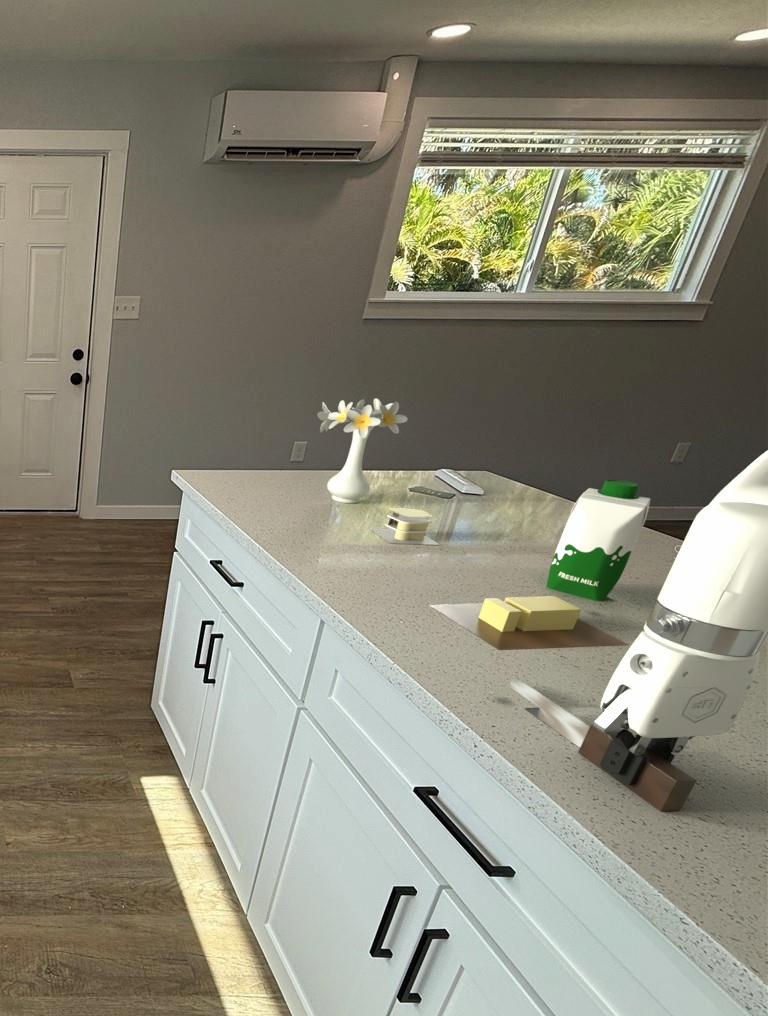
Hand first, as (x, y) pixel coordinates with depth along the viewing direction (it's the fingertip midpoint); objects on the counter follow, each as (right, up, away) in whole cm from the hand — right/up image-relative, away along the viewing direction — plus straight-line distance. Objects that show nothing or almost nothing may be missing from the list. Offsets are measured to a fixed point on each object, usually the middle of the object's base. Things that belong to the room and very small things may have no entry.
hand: (629, 774), depth 69 cm
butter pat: (+10, +13, +29) cm, 33 cm away
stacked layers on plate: (+21, +27, +67) cm, 76 cm away
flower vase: (+22, +37, +90) cm, 100 cm away
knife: (0, +1, +5) cm, 6 cm away
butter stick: (+16, +13, +29) cm, 36 cm away
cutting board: (+14, +12, +30) cm, 35 cm away
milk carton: (+33, +16, +41) cm, 55 cm away
